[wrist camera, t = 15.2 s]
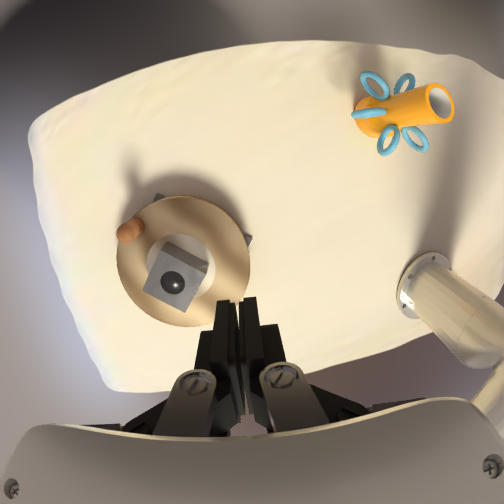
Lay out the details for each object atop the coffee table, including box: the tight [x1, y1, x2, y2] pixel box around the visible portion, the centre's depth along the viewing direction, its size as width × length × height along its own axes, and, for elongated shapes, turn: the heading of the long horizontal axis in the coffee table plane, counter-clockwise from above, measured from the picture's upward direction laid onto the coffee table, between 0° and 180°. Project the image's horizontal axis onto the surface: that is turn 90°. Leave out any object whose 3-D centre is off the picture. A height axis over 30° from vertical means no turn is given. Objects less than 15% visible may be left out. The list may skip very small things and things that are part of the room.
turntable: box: [117, 196, 250, 327], centre depth 33 cm, size 18×18×6 cm
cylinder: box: [351, 71, 454, 156], centre depth 24 cm, size 12×10×15 cm
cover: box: [142, 241, 209, 313], centre depth 32 cm, size 6×6×4 cm
